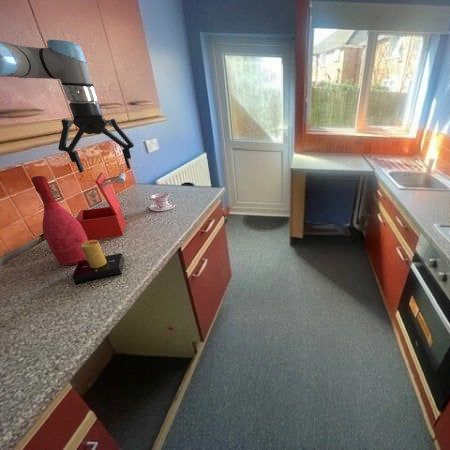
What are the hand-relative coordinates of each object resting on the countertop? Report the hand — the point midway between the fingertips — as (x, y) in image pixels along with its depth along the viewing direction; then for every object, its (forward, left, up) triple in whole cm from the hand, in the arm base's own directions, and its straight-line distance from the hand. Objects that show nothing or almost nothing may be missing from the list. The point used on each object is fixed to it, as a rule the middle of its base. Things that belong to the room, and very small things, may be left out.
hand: (106, 169), depth 87 cm
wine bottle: (-15, -8, -29) cm, 34 cm away
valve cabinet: (-9, +10, -29) cm, 32 cm away
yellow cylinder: (-6, -20, -26) cm, 33 cm away
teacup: (+13, +29, -29) cm, 43 cm away
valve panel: (-6, -20, -29) cm, 35 cm away
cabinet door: (-4, +10, -12) cm, 17 cm away
